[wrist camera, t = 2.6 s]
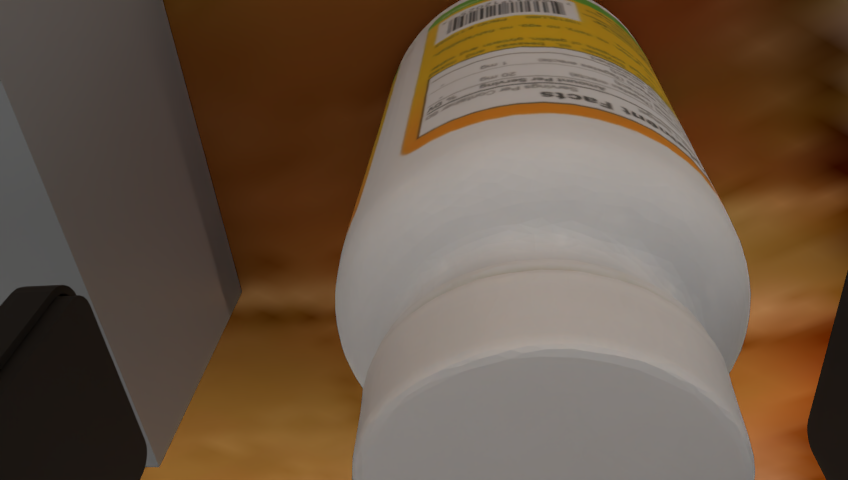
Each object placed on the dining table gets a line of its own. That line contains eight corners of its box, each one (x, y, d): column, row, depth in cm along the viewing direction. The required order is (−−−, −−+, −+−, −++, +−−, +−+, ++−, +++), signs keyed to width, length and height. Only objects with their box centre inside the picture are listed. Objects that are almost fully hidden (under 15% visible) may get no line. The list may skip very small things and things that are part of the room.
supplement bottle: (527, 261, 18) (556, 697, 9) (341, 125, 16) (183, 504, 8) (710, 96, 15) (964, 496, 7) (510, -86, 13) (535, 156, 5)
